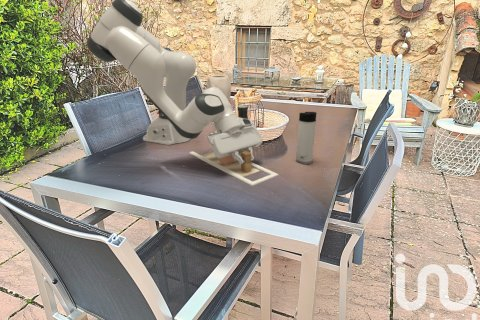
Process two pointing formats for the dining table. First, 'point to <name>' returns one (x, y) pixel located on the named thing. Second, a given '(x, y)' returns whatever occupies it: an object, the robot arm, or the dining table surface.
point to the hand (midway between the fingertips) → (247, 161)
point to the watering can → (220, 84)
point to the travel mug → (306, 137)
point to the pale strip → (235, 164)
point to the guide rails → (272, 174)
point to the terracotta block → (227, 159)
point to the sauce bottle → (243, 112)
